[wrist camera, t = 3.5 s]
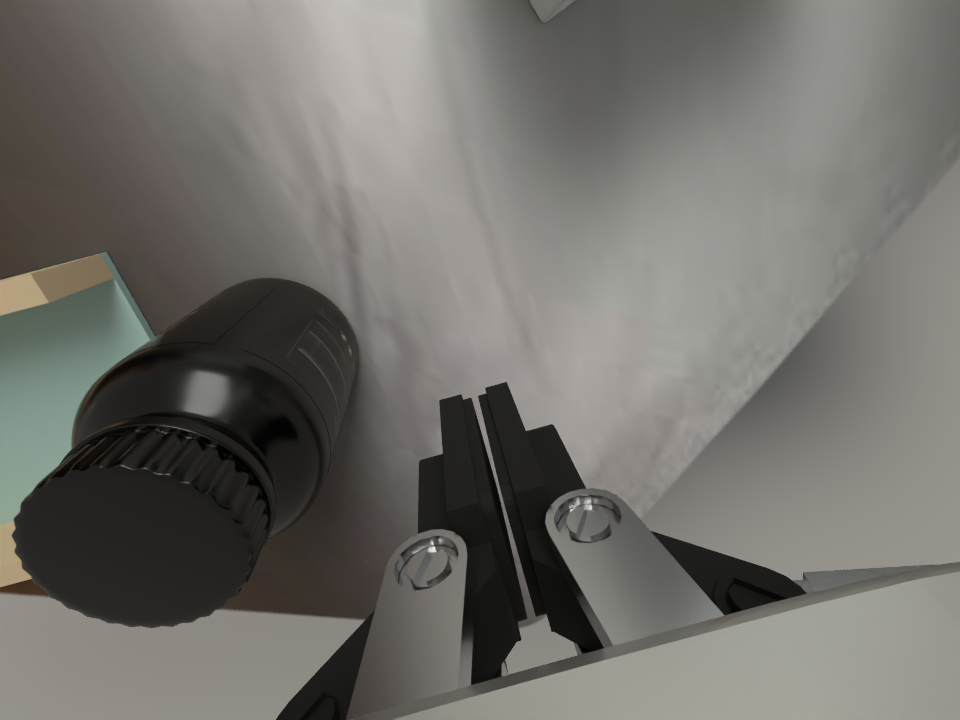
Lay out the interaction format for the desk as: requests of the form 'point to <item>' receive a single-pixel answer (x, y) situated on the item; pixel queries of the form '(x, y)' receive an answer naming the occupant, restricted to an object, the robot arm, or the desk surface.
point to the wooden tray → (53, 371)
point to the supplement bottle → (193, 457)
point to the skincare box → (549, 8)
